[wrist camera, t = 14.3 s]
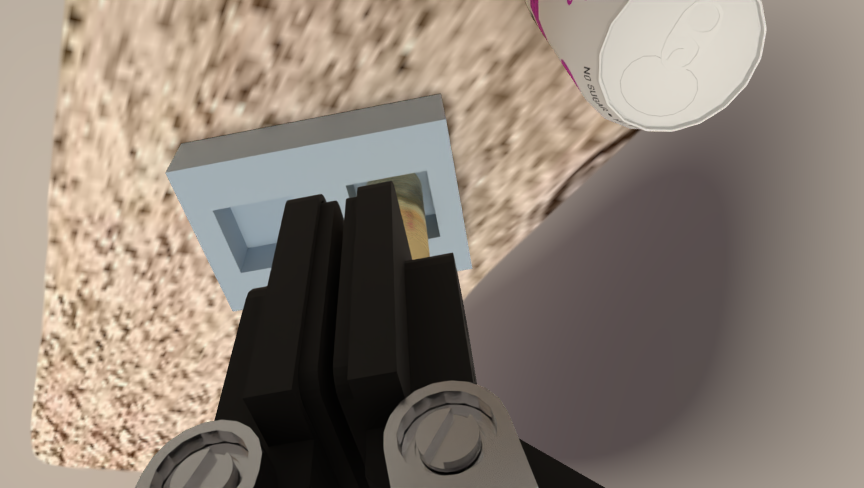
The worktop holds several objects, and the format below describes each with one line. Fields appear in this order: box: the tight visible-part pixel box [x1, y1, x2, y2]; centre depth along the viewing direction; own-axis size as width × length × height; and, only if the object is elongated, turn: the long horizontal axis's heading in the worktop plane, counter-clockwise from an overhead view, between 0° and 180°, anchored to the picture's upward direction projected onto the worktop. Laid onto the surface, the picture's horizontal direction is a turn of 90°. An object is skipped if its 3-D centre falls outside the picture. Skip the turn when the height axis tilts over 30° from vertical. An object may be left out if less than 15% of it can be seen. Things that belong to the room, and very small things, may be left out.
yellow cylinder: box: [366, 173, 430, 260], centre depth 42 cm, size 4×4×8 cm
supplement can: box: [525, 0, 767, 132], centre depth 33 cm, size 8×8×15 cm
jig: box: [166, 94, 472, 311], centre depth 45 cm, size 12×18×4 cm, turn 100°
